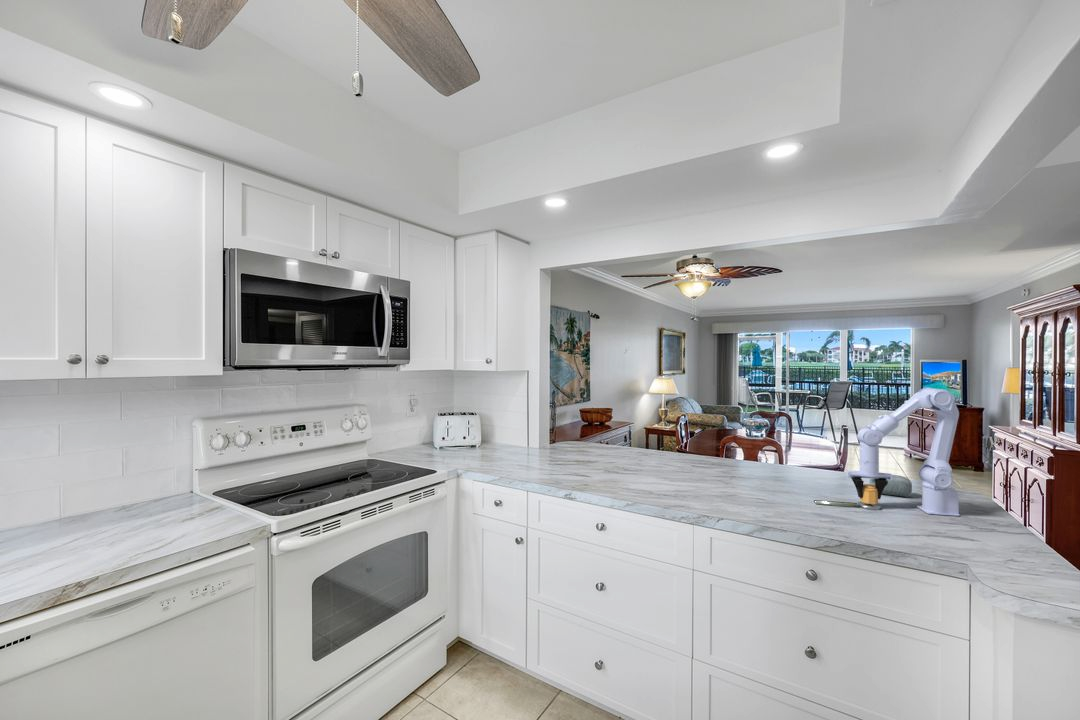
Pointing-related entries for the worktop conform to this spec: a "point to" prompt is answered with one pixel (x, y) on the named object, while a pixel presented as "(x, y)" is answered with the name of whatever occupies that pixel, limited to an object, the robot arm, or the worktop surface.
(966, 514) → the worktop surface
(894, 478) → the grey rounded block
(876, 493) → the wire nut
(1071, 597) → the worktop surface
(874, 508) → the rod
